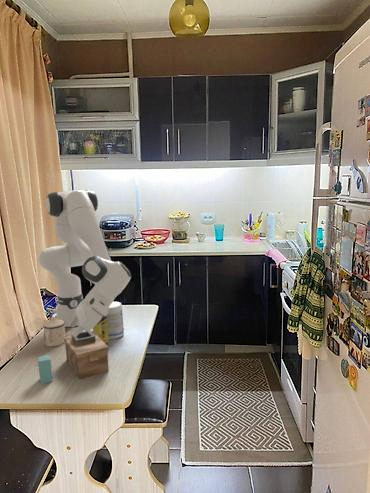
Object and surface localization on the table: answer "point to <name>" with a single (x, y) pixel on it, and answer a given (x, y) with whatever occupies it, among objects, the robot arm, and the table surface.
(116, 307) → the supplement tub
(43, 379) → the teal rectangular block
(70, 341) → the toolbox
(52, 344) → the teacup with lid
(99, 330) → the sauce bottle
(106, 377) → the table surface
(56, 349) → the table surface
